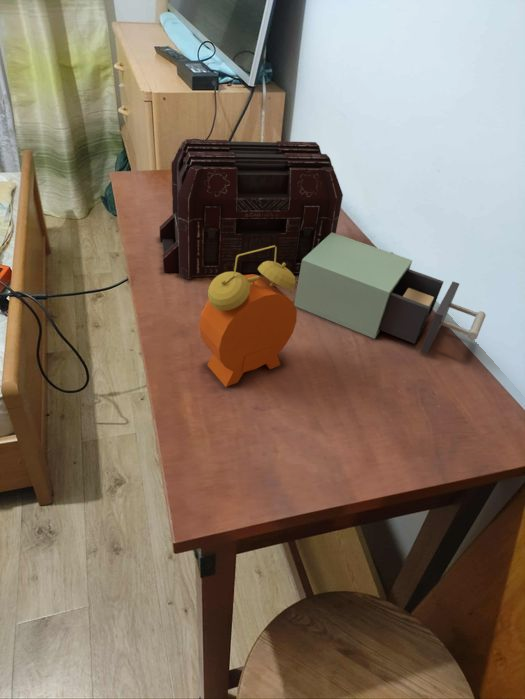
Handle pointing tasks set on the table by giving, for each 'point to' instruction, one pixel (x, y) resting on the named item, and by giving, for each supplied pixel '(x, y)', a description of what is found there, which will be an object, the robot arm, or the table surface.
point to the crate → (247, 205)
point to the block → (419, 297)
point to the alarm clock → (247, 319)
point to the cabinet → (349, 282)
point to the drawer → (423, 310)
